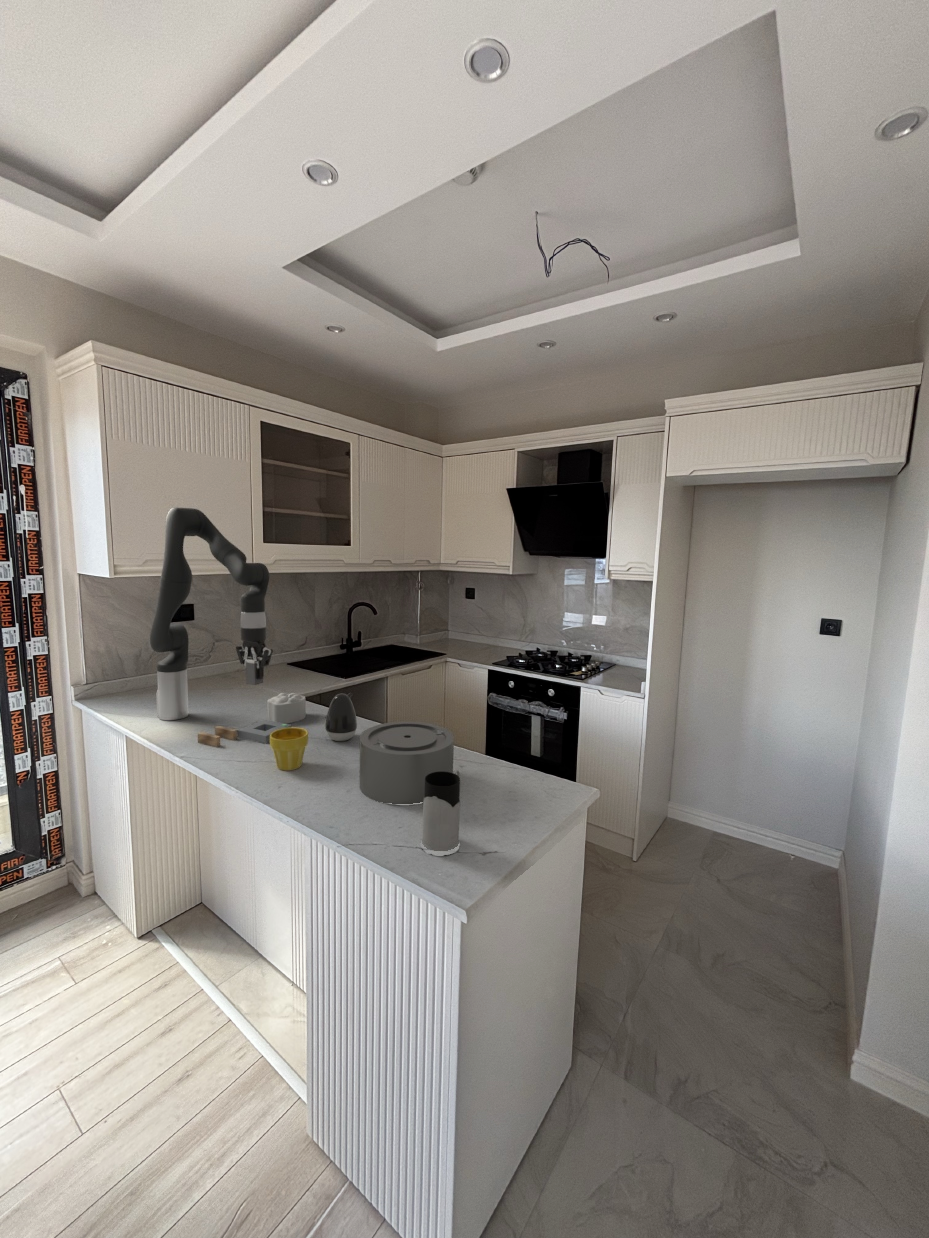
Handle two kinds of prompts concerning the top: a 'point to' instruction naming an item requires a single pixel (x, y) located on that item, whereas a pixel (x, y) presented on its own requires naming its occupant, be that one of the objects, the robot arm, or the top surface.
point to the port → (260, 730)
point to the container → (402, 759)
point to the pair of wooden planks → (217, 736)
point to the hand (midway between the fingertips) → (254, 678)
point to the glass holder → (441, 811)
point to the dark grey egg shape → (341, 718)
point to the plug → (252, 673)
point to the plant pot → (289, 747)
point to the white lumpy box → (286, 708)
